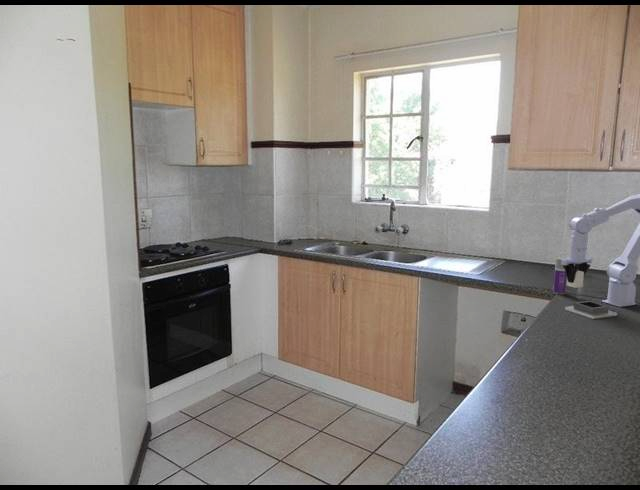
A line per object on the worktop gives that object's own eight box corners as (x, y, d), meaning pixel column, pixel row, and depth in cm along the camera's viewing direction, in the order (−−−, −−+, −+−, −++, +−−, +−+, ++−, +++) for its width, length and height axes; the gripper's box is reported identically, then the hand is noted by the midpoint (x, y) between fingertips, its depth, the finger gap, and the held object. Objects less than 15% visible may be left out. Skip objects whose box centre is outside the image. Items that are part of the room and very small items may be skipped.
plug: (573, 284, 189) (575, 267, 188) (582, 286, 185) (584, 269, 184) (566, 285, 188) (568, 267, 186) (574, 287, 184) (576, 269, 183)
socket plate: (587, 306, 182) (588, 298, 182) (616, 315, 171) (617, 307, 171) (564, 309, 178) (565, 301, 178) (593, 318, 167) (594, 310, 167)
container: (558, 294, 199) (561, 259, 197) (550, 291, 204) (553, 257, 201) (567, 294, 200) (570, 259, 198) (559, 291, 205) (562, 257, 203)
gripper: (582, 245, 190) (579, 278, 193) (555, 247, 185) (552, 280, 187) (598, 248, 184) (595, 282, 186) (571, 250, 179) (567, 285, 181)
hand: (574, 281), depth 186 cm, fingers closed on plug, 4 cm apart
